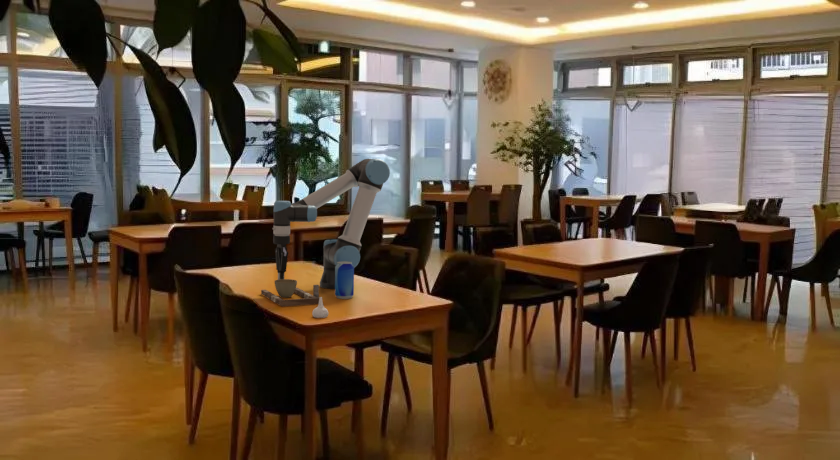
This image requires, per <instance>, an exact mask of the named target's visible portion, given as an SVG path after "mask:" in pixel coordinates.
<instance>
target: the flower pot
mask: <svg viewBox="0 0 840 460" xmlns="http://www.w3.org/2000/svg"><path fill="white" fill-rule="evenodd" d="M297 284H298V280H296V279H291V278H288V279H287V278H286V279H285V278H284V279H280V280H278V279H275V280H274V287H275V290H276V292H277V293H278V297H279V298H282V299H283V298H285V299H287V298H291V297H292V296H293V295H294V294H295V293H294V291H295V289H296V288H297Z"/></svg>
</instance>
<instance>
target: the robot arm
mask: <svg viewBox="0 0 840 460" xmlns="http://www.w3.org/2000/svg"><path fill="white" fill-rule="evenodd" d="M390 174H391V170H390V167H389V165H388V164H387V162H386V161H384V160H383V159H380V158H364V159H362V160H360V161H359V162H357V163H355V164H354V165H352V166H351V167H350V168H348V169H346V171H345V173H344V174H342V175H340V176H338V177H337V178H335V179H333V180H332V181H330V182H328V183H326V184H325V185H324V186H322V187H320V188H318V189H317V190H315V191H314V192H312V193H310V194H308V195H306V196H305V197H303V198H302V199H300V200H298V201H296V202H292V203H291V201H290V200H275V201H274V202H273V211H272V212H273V227H272V228H271V229H272V230H273V237H272V238H273V239H272V241H273V242H272V243H273V244H274V245H276V248H274V253H275V265H276V266H275V267H276V268H275V269H276V270H277V280H280V279H285V273H286V272H287V266H288V257H289V256H288V255H289V251H288V248H287V245H289V244H291V236H290V235H291V223H294V222H295V223H296V222H298V223H310V222H312V223H314V222H316V220H317V219H318V218H317V217H318V208H320V207H322V206H324V205H325V204H327V203H329V202H330V201H332V200H334V199H336V198H337V197H339V196H341V195H342V194H344V193H346V192H347V191H349V190H351V189H352V188H358V190H357V193H356V195H355V199H354V201H353V203H352V206H351V209H350V211H349V215H348V219H347V220H346V221H347V222H346V223H345V224H346V225H345V226H344V229H343V232H342V234H341V235H340V236H338V237H337V239H326V240H324V242H323V246H322V247H323V271H322V275H321V278H320V281H319V288H323V289H328V290H329V289H330V290H335V267H336V265H337V262H341V261H348V262H352V265H353V267H354V269H355V268H356V267H357V266H358V265H359V263H360V260H361V253H360V251H361V249H362V243H361V238H362V235H363V233H364V229H365V227H366V224H367V221H368V218H369V216H370V213H371V211H372V207H373V204H374V201H375V198H376V197H377V193H379V192H381V191H382V188H383V186H384V184H385V183H386V182H387V181H388V180H389V178H390Z"/></svg>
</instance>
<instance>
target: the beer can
mask: <svg viewBox="0 0 840 460" xmlns="http://www.w3.org/2000/svg"><path fill="white" fill-rule="evenodd" d="M354 289H355V268H354V267H353V265H352V262H348V261H341V262H337V265H336V267H335V289H334V296H335V297H336V298H337V299H340V300H348V299H349V300H350V299H352V298H353V296H354V294H355V290H354Z"/></svg>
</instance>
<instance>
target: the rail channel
mask: <svg viewBox="0 0 840 460" xmlns="http://www.w3.org/2000/svg"><path fill="white" fill-rule="evenodd" d="M312 289H313V290H312V292H313V293H312V294H311V293H309V292H307V291H304V289H301V288H299V287H296V289H295V291H294V293H293V294H296V295H298V296H300V297H301V298H291V299H283V298H282V297H280V296H279V295H276V294H274V293H272V292H270V290H267V289H261V290H260V291H261V292H260V294H261V295H262V296H263V295H264V297H265V298H266V299H268V298H269V300H270V301H272V302H274V303H275V304H277V305H278V306H280V307H293V306H294V307H295V306H296V307H297V306H310V305H318V304H319V297H320V293H319V291H320V284H313V287H312Z"/></svg>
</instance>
